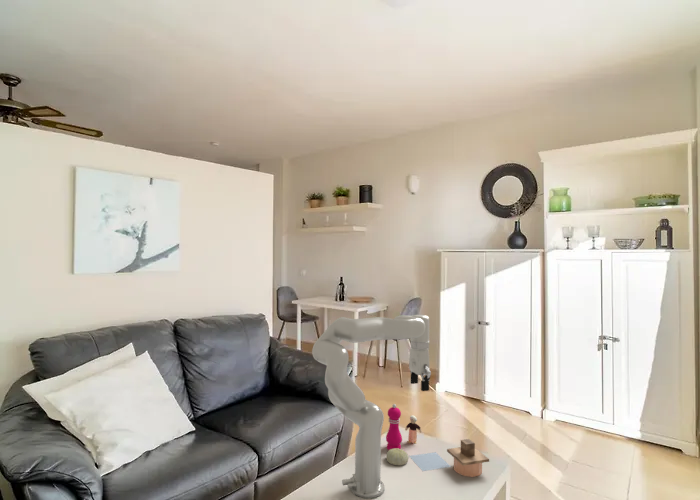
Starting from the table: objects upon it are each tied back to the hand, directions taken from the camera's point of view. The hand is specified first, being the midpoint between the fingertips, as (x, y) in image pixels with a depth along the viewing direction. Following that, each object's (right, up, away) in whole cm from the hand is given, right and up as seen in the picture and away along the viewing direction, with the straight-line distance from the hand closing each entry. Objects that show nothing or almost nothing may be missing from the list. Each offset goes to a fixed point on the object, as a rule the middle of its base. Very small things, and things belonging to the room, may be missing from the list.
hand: (419, 386), depth 165 cm
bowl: (+19, -34, -1) cm, 39 cm away
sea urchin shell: (-9, -34, +5) cm, 35 cm away
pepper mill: (-9, -34, +16) cm, 39 cm away
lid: (+20, -28, -1) cm, 34 cm away
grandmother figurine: (+1, -34, +22) cm, 41 cm away
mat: (+5, -34, +5) cm, 34 cm away
